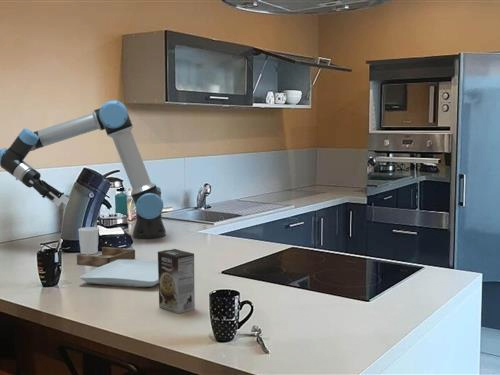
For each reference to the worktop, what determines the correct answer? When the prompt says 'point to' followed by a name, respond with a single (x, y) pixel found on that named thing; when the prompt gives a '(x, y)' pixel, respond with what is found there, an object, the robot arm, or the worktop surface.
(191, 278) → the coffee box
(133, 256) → the caddy
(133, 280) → the square plate
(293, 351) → the worktop surface
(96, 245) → the white cup
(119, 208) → the green pump bottle
